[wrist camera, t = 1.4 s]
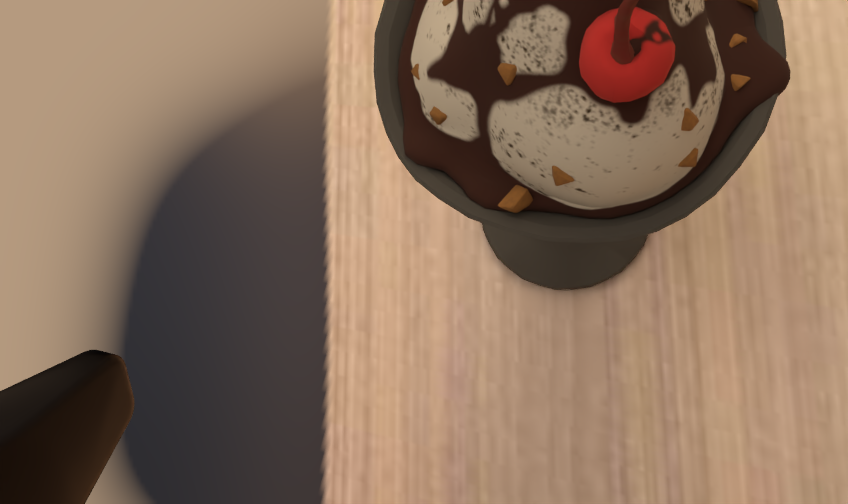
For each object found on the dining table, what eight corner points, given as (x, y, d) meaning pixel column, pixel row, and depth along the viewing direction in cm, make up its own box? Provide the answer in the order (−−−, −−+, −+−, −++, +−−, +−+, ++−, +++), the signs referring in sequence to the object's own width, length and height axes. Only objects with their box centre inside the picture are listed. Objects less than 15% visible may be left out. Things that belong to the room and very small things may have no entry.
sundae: (648, 351, 21) (847, 215, 6) (423, 278, 22) (178, 35, 8) (714, 133, 22) (1018, -411, 7) (493, 77, 23) (388, -466, 9)
